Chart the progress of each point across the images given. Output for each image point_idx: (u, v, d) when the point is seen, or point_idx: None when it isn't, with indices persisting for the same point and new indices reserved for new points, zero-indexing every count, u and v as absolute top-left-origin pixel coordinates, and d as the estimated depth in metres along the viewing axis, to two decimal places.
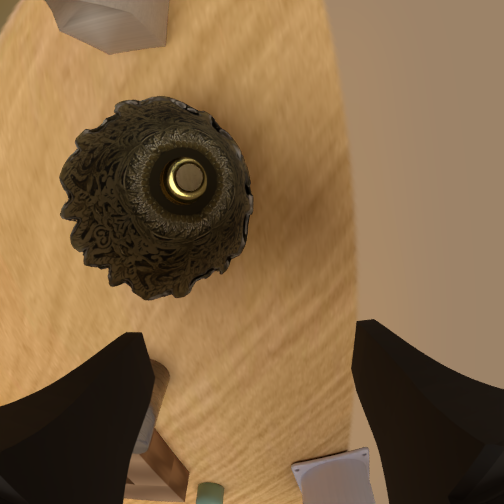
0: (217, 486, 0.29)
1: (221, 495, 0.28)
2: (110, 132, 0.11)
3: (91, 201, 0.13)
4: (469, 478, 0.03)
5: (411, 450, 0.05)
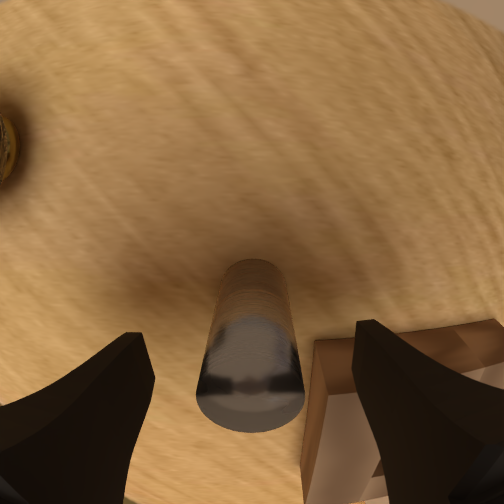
0: None
1: None
2: None
3: None
4: (469, 478, 0.03)
5: (411, 450, 0.05)
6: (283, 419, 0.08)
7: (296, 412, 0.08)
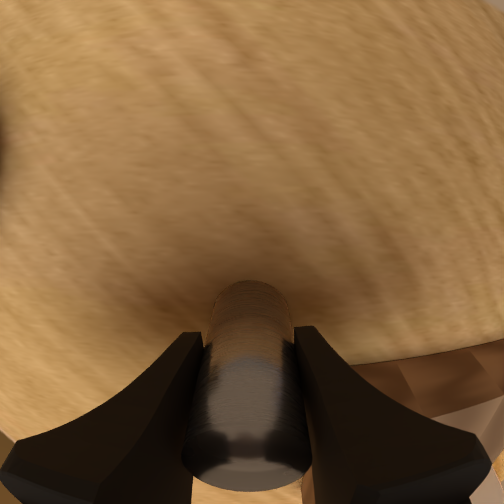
0: None
1: None
2: None
3: None
4: None
5: (323, 468, 0.05)
6: (285, 480, 0.06)
7: (301, 474, 0.06)
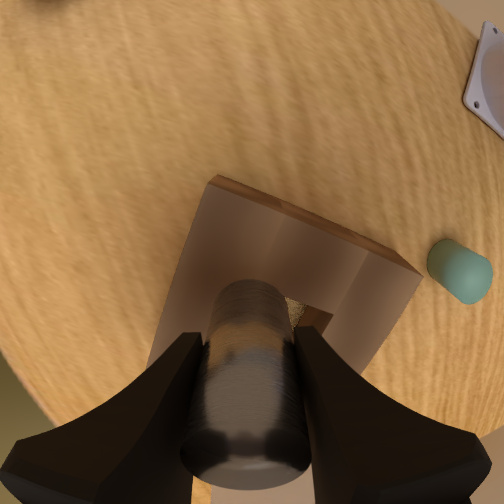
0: (442, 242, 0.19)
1: (458, 244, 0.18)
2: None
3: None
4: None
5: (323, 467, 0.05)
6: (286, 478, 0.06)
7: (302, 471, 0.06)
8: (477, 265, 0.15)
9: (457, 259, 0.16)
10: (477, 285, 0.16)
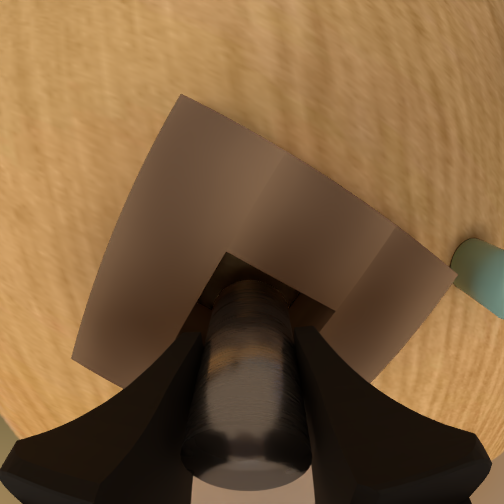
0: (469, 242, 0.14)
1: (489, 244, 0.13)
2: None
3: None
4: None
5: (323, 467, 0.05)
6: (287, 479, 0.06)
7: (302, 472, 0.06)
8: None
9: (493, 262, 0.12)
10: None
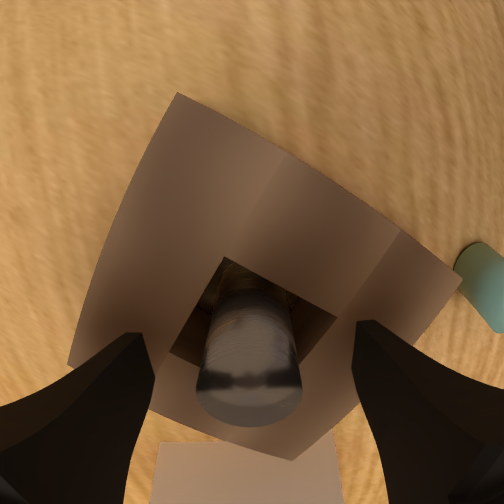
0: (470, 250, 0.14)
1: (490, 253, 0.13)
2: None
3: None
4: (469, 478, 0.03)
5: (411, 450, 0.05)
6: (283, 413, 0.09)
7: (295, 405, 0.09)
8: None
9: (492, 283, 0.11)
10: None
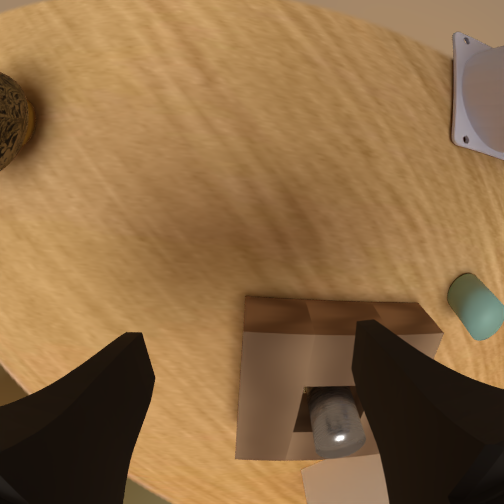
0: (450, 293, 0.20)
1: (461, 291, 0.18)
2: None
3: None
4: (469, 478, 0.03)
5: (411, 450, 0.05)
6: (360, 445, 0.16)
7: (364, 440, 0.15)
8: (480, 317, 0.16)
9: (464, 320, 0.17)
10: (493, 320, 0.16)
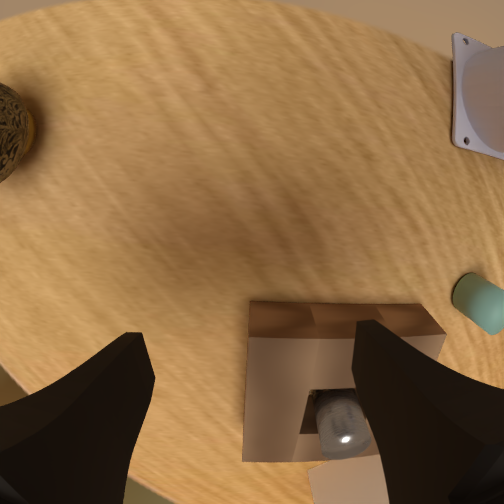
0: (455, 301, 0.19)
1: (465, 297, 0.18)
2: None
3: None
4: (469, 478, 0.03)
5: (411, 450, 0.05)
6: (365, 446, 0.16)
7: (370, 441, 0.15)
8: (492, 316, 0.16)
9: (478, 323, 0.17)
10: None
